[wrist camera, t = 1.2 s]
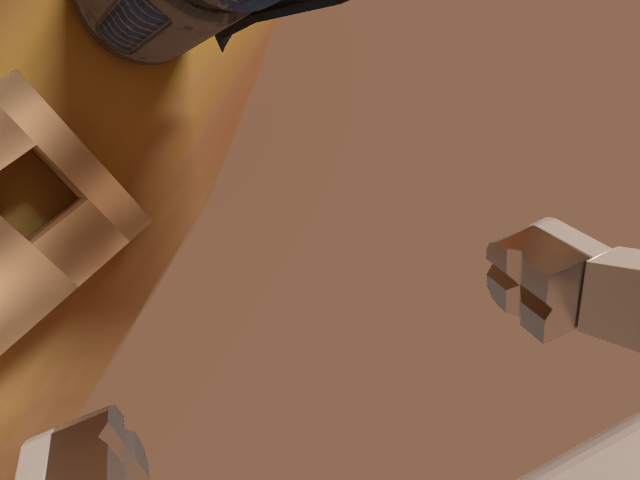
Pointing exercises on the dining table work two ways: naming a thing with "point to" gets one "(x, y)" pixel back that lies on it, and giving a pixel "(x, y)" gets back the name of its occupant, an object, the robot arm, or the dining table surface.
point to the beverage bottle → (177, 23)
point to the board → (67, 226)
